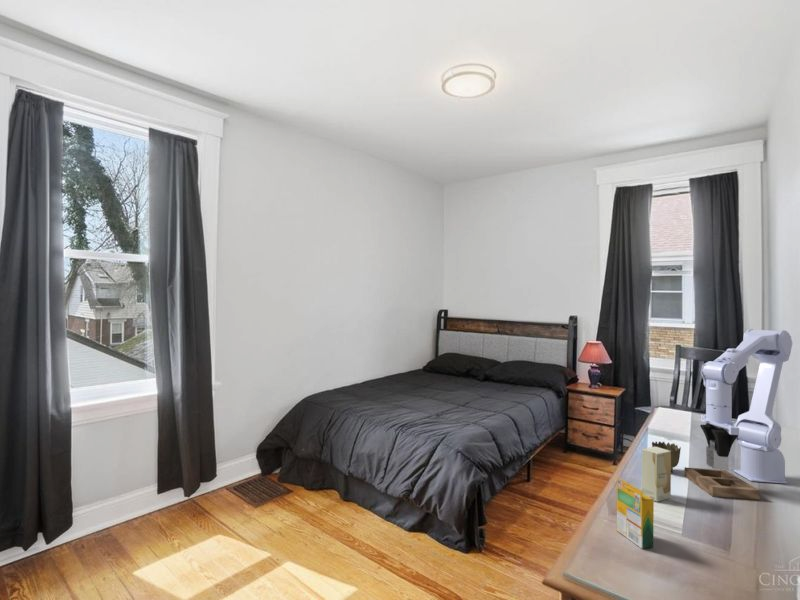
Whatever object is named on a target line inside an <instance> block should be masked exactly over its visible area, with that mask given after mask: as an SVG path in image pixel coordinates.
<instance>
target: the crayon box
mask: <svg viewBox="0 0 800 600" xmlns="http://www.w3.org/2000/svg"><path fill="white" fill-rule="evenodd" d="M654 502H655V501H654V500H653V499H652V498H650V497H648V496H646V495H644V494H642V490H641V488H640V489H639V488H638V487H636V486H635V485H632V484H630V483H628V482H626V481H625V480H623V479H622V478H619V477H616V532H618V533H619V534H621V535H622V536H624V537H625V538H626V539H628V540H629V541H630V542H632V543H634V545H636V546H637V547H639V548H640V549H642V550H643V549H644V550H645V549H651V548H654V518H655V517H654V507H655V505H654V504H655V503H654Z"/></svg>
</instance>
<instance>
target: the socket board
mask: <svg viewBox="0 0 800 600" xmlns="http://www.w3.org/2000/svg"><path fill="white" fill-rule="evenodd" d="M683 468H684V477H685V478H687V479H688V480H689V481H690V482H692V483H693V484H695V485H696V486H697V487H699V488H700V489H701V490H703V491H704V492H706V494H708V495H709V496H712V498H713V497H714V498H725V499H726V498H727V499H739V500H741V499H742V500H753V501H760V490H759V489H758V488H756V487H754V486H753V485H751V484H749V483H748V482H747V481H744V480H743V479H741V478H739V477H738V476H737V475H735V474H733V473H732V472H730V471H727V470H726V469H714V468H699V467H697V468H696V467H683Z"/></svg>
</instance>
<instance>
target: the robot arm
mask: <svg viewBox="0 0 800 600" xmlns="http://www.w3.org/2000/svg"><path fill="white" fill-rule="evenodd" d="M742 338H743V339H742V341H741V342H740V343H739V345H737V347H736V348H727V349H726V351H724V352H723V353H722V354H721V355H720V356H718V357H717V358H716V359H714V360H713V361H710V360H709V361H706V362H705V363H703V364H702V366H701V370H700V375H701V378H702V380H703V386H704V387H705V414H700V421H701V422H702V423H704V424H700V429H701V430H702V431H703V433H704V436H705V439H706V442H707V445H708V446H710V440H716V444H717V452H718V456H720V457H728V458H729V455H730V452H731V448H732V446H733V444H734V443H735V441H737V444H738V445H740V469H733V472H734V473H737V475H739V476H741V477H743V478H745V479H747V480H748V481H750V482H756V483H757V482H759V483H760V482H761V483H771V484H772V483H775V484H786V485H787V484H788V481H787V480H786V459H785V456H784V453H782V451H781V450H780V449H779V447H780V446H781V443H782V426H781V425H780V423H779V422H777V421H776V419H774V418H773V417H772V415H773V409H774V405H775V401H776V400H775V399H776V396H777V392H778V387H779V382H780V377H781V373H782V369H783V364H784V363H785V362H787V361H789V359H790V357H791V352H792V348H793V340H792V336H791V334H790V333H789V332H788V331H787V330H770V329H768V330H767V329H754V328H750V329H747V330H746V331H745V332H744V333H743V337H742ZM751 356H752V358H754V359H756V360H758V362H759V367H758V371H757V375H756V379H755V383H754V389H753V394H752V398H751V402H750V404H749V405H750V406H749V410H748V411H745V412H744V413H741V414H739V415H738V416H737V419H736V422H735V423H734V422H733V421H732V420H733V419H732V414H733V413H732V406H733V405H732V404H733V403H732V401H733V400H732V399H733V398H732V393H733V392H732V384H733V383H735V382H736V381H737V378H738V375H739V372H740V371H741V370H742V369H743V368H744V367H745V366H746V365H747V364H748V362H749V357H751Z"/></svg>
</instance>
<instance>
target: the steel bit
mask: <svg viewBox="0 0 800 600" xmlns="http://www.w3.org/2000/svg"><path fill="white" fill-rule="evenodd" d="M705 447H706V449H705V451H706V465H707V466H709V467H710V468H711V469H715V470H726V471H727V470H729V456H728V457H720V456H718V452H717V444H716V440H710V446H705Z"/></svg>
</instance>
